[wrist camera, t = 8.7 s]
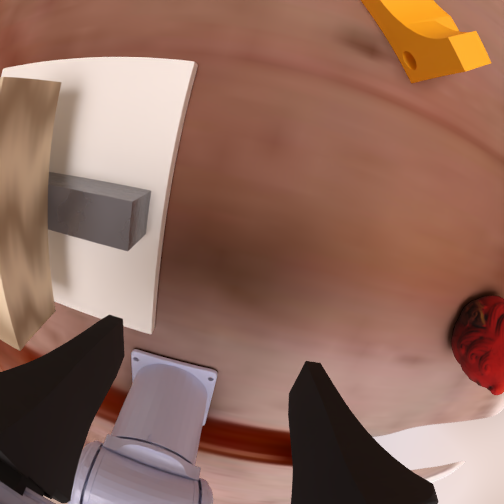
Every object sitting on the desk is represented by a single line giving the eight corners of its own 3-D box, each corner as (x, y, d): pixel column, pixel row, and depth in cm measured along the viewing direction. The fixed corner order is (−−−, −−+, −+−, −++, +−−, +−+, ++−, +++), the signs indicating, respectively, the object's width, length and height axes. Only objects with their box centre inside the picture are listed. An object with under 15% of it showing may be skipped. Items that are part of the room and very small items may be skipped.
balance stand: (154, 327, 23) (139, 359, 19) (4, 272, 22) (-19, 290, 18) (198, 65, 15) (181, 48, 12) (10, 69, 14) (-21, 67, 11)
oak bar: (55, 311, 18) (20, 350, 14) (24, 297, 18) (-12, 331, 13) (61, 82, 12) (3, 76, 7) (25, 84, 12) (-30, 84, 7)
